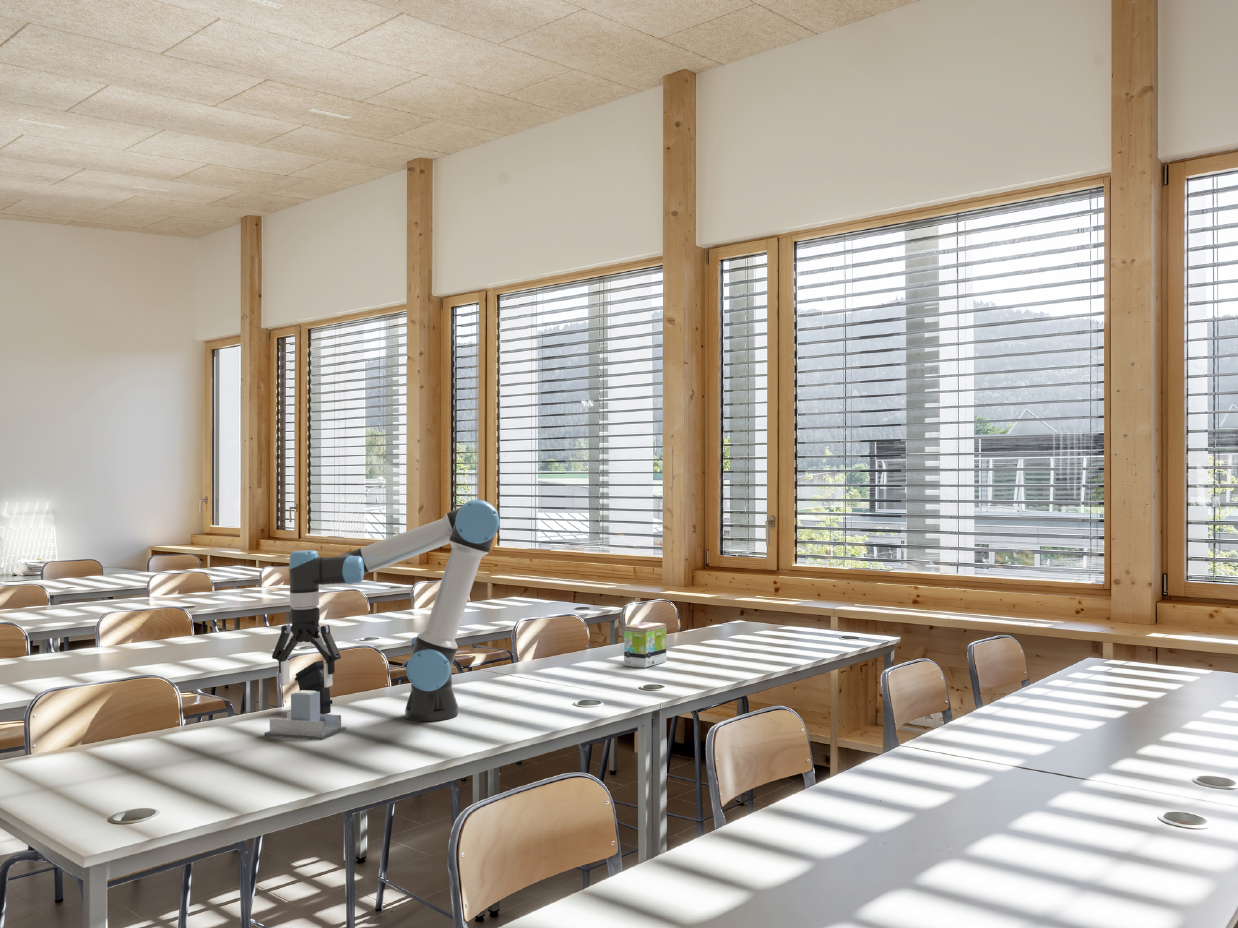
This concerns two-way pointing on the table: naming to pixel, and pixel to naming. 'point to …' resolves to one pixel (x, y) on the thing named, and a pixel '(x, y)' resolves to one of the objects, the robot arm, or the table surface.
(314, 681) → the magazine
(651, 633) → the tea box
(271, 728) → the grey piece
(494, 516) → the robot arm
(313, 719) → the block
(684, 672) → the table surface
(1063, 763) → the table surface
